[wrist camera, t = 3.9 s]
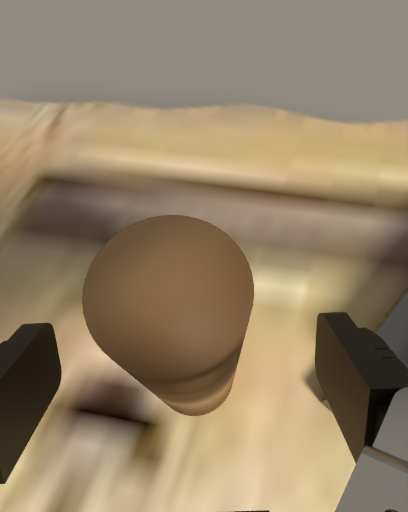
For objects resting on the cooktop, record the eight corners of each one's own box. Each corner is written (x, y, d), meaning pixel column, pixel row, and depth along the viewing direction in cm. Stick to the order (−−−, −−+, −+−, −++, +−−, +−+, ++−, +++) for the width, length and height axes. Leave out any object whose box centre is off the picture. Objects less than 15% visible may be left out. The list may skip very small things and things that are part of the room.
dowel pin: (140, 376, 18) (47, 292, 8) (193, 321, 19) (169, 188, 9) (196, 434, 17) (166, 419, 7) (248, 372, 18) (289, 282, 8)
